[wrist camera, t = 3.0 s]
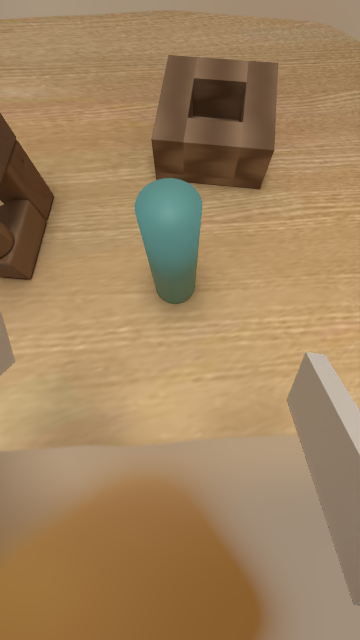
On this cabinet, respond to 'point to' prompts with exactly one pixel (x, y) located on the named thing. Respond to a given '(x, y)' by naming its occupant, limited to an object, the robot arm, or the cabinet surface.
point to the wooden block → (20, 207)
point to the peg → (170, 235)
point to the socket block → (215, 121)
